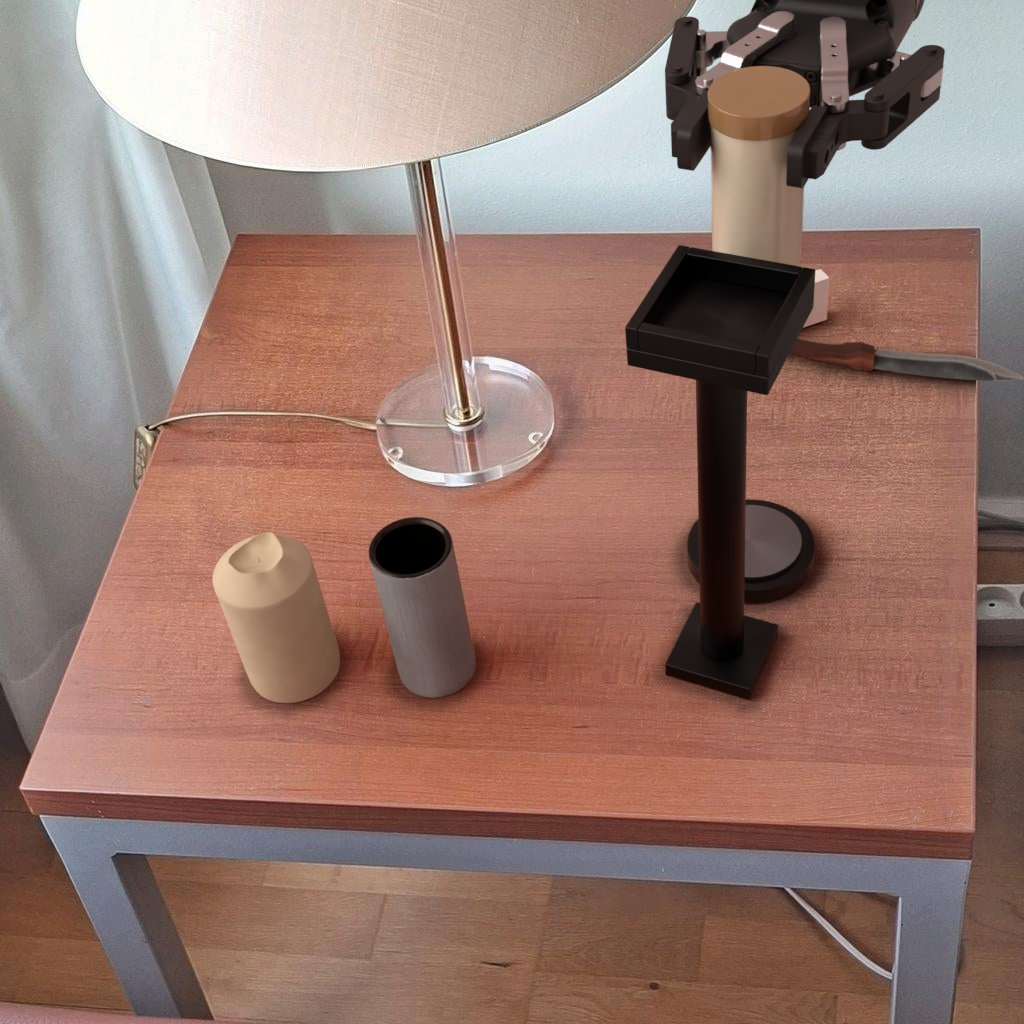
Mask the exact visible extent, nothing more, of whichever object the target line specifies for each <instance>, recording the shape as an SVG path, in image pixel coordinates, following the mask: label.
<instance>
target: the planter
mask: <svg viewBox="0 0 1024 1024" xmlns="http://www.w3.org/2000/svg"><path fill="white" fill-rule="evenodd" d="M454 546H455V545H454V541H453V537H452V535H451V533H450V531H449V530H448V529H447V527H446V526H445V525H443V524H442V523H440V522H438V521H437V520H435V519H431V518H428V517H421V516H411V517H404V518H401V519H400V518H399V519H397V520H394V521H392V522H390V523H388V524H387V525H385V526H383V527H382V528H381V529H379V531H378V532H376V533H375V535H374V536H373V538H372V539H371V541H370V544H369V545H368V551H367V552H368V553H367V554H368V555H367V556H368V560H369V564H370V567H371V568H370V569H371V572H372V576H373V580H374V583H375V587H376V591H377V595H378V599H379V603H380V606H381V610H382V614H383V619H384V622H385V623H384V624H385V627H386V630H387V634H388V638H389V642H390V646H391V649H392V650H391V651H392V654H393V657H394V662H395V666H396V669H397V673H398V676H399V678H400V681H401V683H402V684H403V686H404V687H405V688H406V689H407V690H408V691H409V692H411V693H413V694H414V695H417V696H420V697H424V698H443V697H446V696H450V695H453V694H454V693H456V692H458V691H460V690H461V689H462V688H464V687H465V686H466V685H468V683H469V682H470V681H471V679H472V677H473V676H474V674H475V671H476V654H475V649H474V643H473V639H472V632H471V628H470V624H469V623H470V622H469V618H468V613H467V608H466V602H465V597H464V593H463V587H462V582H461V577H460V571H459V567H458V566H459V565H458V562H457V556H456V552H455V547H454Z"/></svg>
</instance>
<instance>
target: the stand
mask: <svg viewBox="0 0 1024 1024" xmlns="http://www.w3.org/2000/svg"><path fill="white" fill-rule="evenodd" d="M815 271H816V269H815V268H811V267H805V266H803V267H802V266H799V265H797V266H794V265H789V264H783V263H778V262H772V261H766V260H761V259H755V258H750V257H744V256H738V255H733V254H727V253H722V252H716V251H712V250H709V249H704V248H699V247H693V246H691V247H690V246H687V245H683V244H678V245H677V246H676V248H675V250H674V251H673V253H672V254H671V256H670V257H669V259H668V261H667V262H666V263H665V264H664V266H663V268H662V270H661V271H660V273H659V274H658V276H657V277H656V278H655V281H654V282H653V283H652V285H651V287H650V288H649V290H648V291H647V293H646V295H645V296H644V298H643V299H642V300H641V302H640V304H639V305H638V306H637V308H636V310H635V311H634V313H633V315H632V316H631V317H630V319H629V320H628V322H627V323H626V325H625V327H624V330H625V345H626V363H627V366H630V367H634V368H639V369H643V370H646V371H647V370H648V371H651V372H657V373H662V374H667V375H671V376H675V377H680V378H684V379H690V380H694V381H695V406H696V407H695V410H696V411H695V412H696V415H695V416H696V461H697V463H696V465H697V466H696V467H697V508H698V509H697V515H698V518H697V520H698V522H699V574H700V584H699V602H698V601H696V602H695V603H694V605H693V608H692V609H691V612H690V613H689V615H688V616H687V617H688V618H687V619H686V622H684V625H683V627H682V629H681V631H680V634H679V636H678V638H677V639H676V641H675V643H674V646H672V649H671V651H670V654H669V656H668V657H667V660H666V661H665V663H664V668H665V669H664V670H665V676H667V677H671V678H675V679H678V680H681V681H685V682H687V683H691V684H694V685H698V686H700V687H704V688H707V689H711V690H715V691H719V692H720V693H723V694H727V695H731V696H735V697H737V698H740V699H744V700H747V701H750V700H751V699H752V696H753V694H754V691H755V689H756V687H757V686H758V682H759V680H760V678H761V676H762V673H763V671H764V670H765V666H766V664H767V662H768V660H769V657H770V656H771V655H770V654H771V653H772V651H773V648H774V646H775V644H776V642H777V639H778V638H779V624H777V623H774V622H770V621H766V620H762V619H759V618H756V617H752V616H748V615H745V603H744V585H745V515H746V499H747V445H748V443H747V441H748V440H747V439H748V438H747V435H748V434H747V433H748V431H747V430H748V393H749V392H750V393H755V394H759V395H764V396H767V395H769V394H770V392H771V390H772V388H773V386H774V384H775V382H776V380H777V378H778V376H779V375H780V372H781V370H782V369H783V367H784V365H785V363H786V361H787V359H788V357H789V356H790V354H789V353H790V351H791V349H792V348H793V346H794V344H795V342H796V340H797V339H799V336H800V334H801V332H802V330H803V326H804V324H805V323H806V321H807V319H808V317H809V315H810V313H811V311H812V309H813V304H814V287H815Z"/></svg>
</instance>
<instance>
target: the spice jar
mask: <svg viewBox="0 0 1024 1024" xmlns="http://www.w3.org/2000/svg"><path fill="white" fill-rule="evenodd" d="M810 109H811V108H810V86H809V83H808V82H807V80H806V79H805V78H804V77H802V76H801V75H800V74H798V73H796V72H794V71H791V70H788V69H785V68H780V67H773V66H753V67H746V68H741V69H737V70H734V71H731V72H728V73H726V74H724V75H722V76H720V77H719V78H717V79H716V80H715V81H714V82H713V83H712V84H711V86H710V87H709V90H708V120H709V122H710V203H711V204H710V205H711V206H710V208H711V251H716V252H722V253H727V254H733V255H738V256H744V257H750V258H755V259H761V260H766V261H772V262H778V263H783V264H789V265H794V266H799V263H800V262H801V259H802V256H803V234H804V233H803V231H804V210H805V209H804V207H805V206H804V205H805V187H804V188H797V187H791V186H787V184H786V175H787V153H788V148H789V145H790V142H791V141H792V139H793V137H794V136H795V134H796V132H797V131H798V129H799V127H800V126H801V124H802V122H803V121H804V119H805V118H806V117H807V115H808V113H809V111H810Z"/></svg>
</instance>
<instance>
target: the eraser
mask: <svg viewBox="0 0 1024 1024" xmlns="http://www.w3.org/2000/svg"><path fill="white" fill-rule="evenodd" d="M829 291H830V277H829V276H828V275H827V274H826V273H825V272H824V271H823V270H822V269H821V268H819V269H815V287H814V304H813V309H812V311H811V313H810V315H809V317H808V319H807V321H806V323H805V324H804V326H803V328H806V327H807V328H808V327H809V326H812V325H815V324H818V323H821V322H824V321H826V320H828V307H829V293H830V292H829ZM803 328H802V329H803Z"/></svg>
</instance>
